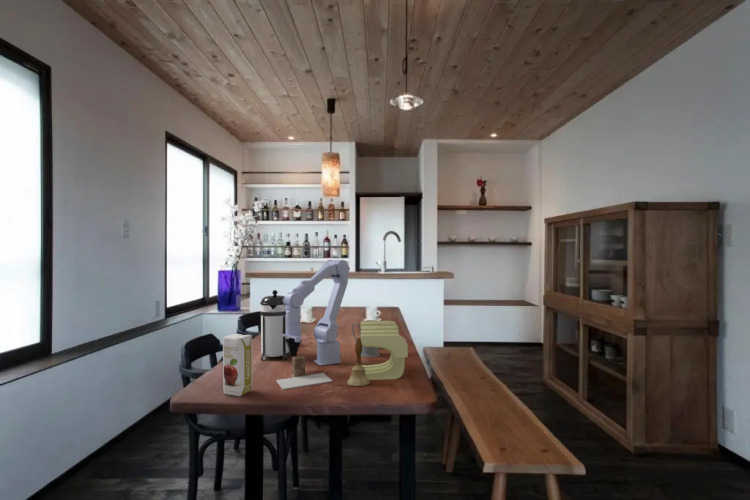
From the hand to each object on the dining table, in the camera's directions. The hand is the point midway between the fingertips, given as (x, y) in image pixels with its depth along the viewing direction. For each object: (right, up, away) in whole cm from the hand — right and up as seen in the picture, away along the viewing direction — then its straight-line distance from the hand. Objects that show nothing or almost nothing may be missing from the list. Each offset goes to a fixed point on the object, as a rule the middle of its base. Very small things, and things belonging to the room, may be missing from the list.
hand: (293, 356), depth 156 cm
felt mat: (+7, -5, -13) cm, 16 cm away
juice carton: (-14, -6, -24) cm, 28 cm away
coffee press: (-13, -6, +21) cm, 25 cm away
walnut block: (+3, -5, -6) cm, 9 cm away
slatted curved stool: (+35, -5, -5) cm, 36 cm away
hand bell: (+26, -5, -15) cm, 31 cm away
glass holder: (+28, -6, +25) cm, 38 cm away
